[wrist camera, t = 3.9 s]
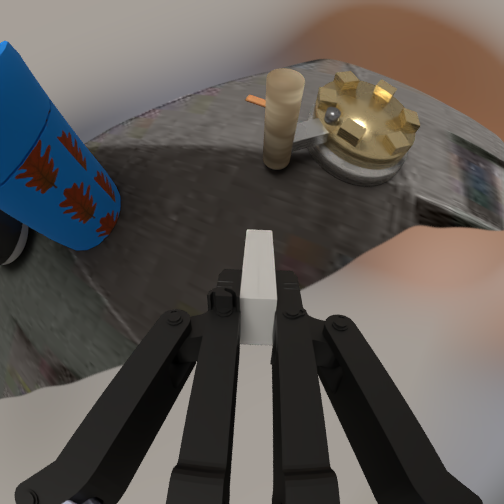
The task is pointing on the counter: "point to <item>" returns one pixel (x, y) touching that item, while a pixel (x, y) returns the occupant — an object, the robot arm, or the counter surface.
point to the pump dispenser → (11, 238)
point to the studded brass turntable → (337, 121)
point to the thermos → (49, 165)
